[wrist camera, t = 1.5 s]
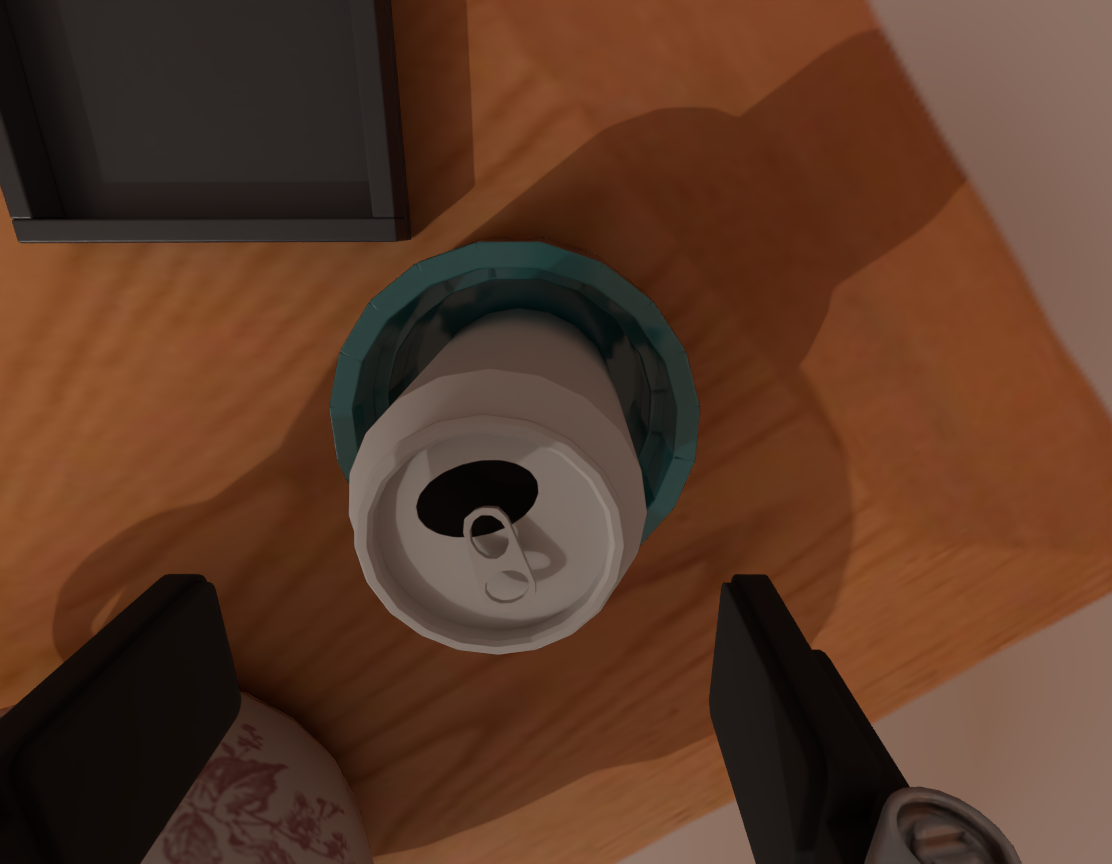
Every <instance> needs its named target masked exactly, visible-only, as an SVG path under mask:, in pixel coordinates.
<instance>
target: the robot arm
mask: <svg viewBox="0 0 1112 864" xmlns="http://www.w3.org/2000/svg"><path fill="white" fill-rule="evenodd" d="M240 707H241V693H240V689H239V685H238V681H237V676H236V672H235V668H234V664H233V660H232V655H231V651H230V647H229V643H228V639H227V635H226V630H225V626H224V622H223V618H222V614H221V610H220V605H219V601H218V597H217V593H216V589H215V587H214V585H213V584H212V583H210V582H207V580H206V578H205V577H204V576H203V575H200V574H168V575H165V576H163V577H161V578H160V579H159V580H158V581H157V582H155V583H154V584H153V585H152V586H151V587H150V588H149V589H147V590H146V591H145V592H144V593H143V594H142V595H141V596H139V597H138V598H137V599H136V600H135V601H134V602H133V603H131V604H130V605H129V606H128V607H127V608H126V609H125V610H123V611H122V612H121V613H120V614H119V615H118V616H117V617H115V618H114V619H113V620H112V621H111V622H110V623H109V624H107V625H106V626H105V627H104V628H103V629H102V630H101V631H100V632H98V633H97V634H96V635H95V636H94V637H93V638H92V639H90V640H89V641H88V642H87V643H86V644H85V645H84V646H82V647H81V648H80V649H79V650H78V651H77V652H76V653H74V654H73V655H72V656H71V657H70V658H69V659H68V660H66V661H65V662H64V663H63V664H62V665H61V666H60V667H58V668H57V669H56V670H55V671H54V672H53V673H52V674H50V675H49V676H48V677H47V678H46V679H45V680H44V681H42V682H41V683H40V684H39V685H38V686H37V687H36V688H34V689H33V690H32V691H31V692H30V693H29V694H28V695H27V696H25V697H24V698H23V699H22V700H21V701H20V702H19V703H17V704H16V705H15V706H14V707H13V708H12V709H11V710H9V711H8V712H7V713H6V714H5V715H4V716H3V717H1V718H0V864H141V862H142V861H143V859H144V858H145V856H146V855H147V853H148V852H149V850H150V849H151V847H152V846H153V844H154V842H155V841H156V839H157V838H158V836H159V835H160V833H161V832H162V830H163V829H164V827H165V826H166V824H167V823H168V821H169V820H170V818H171V817H172V815H173V814H174V812H175V811H176V809H177V808H178V806H179V805H180V803H181V802H182V800H183V799H184V797H185V796H186V794H187V792H188V791H189V789H190V788H191V786H192V785H193V783H194V782H195V780H196V779H197V777H198V776H199V774H200V773H201V771H202V770H203V768H204V767H205V765H206V764H207V762H208V761H209V759H210V758H211V756H212V755H213V753H214V752H215V750H216V749H217V747H218V745H219V744H220V742H221V741H222V739H223V738H224V736H225V735H226V733H227V732H228V730H229V729H230V727H231V726H232V724H233V723H234V721H235V720H236V718H237V716H238V714H239V711H240ZM709 707H710V714H711V719H712V723H713V726H714V729H715V732H716V736H717V739H718V742H719V745H720V749H721V752H722V755H723V758H724V762H725V765H726V768H727V771H728V775H729V778H730V781H731V784H732V788H733V791H734V794H735V797H736V801H737V804H738V807H739V810H740V814H741V817H742V820H743V823H744V827H745V830H746V833H747V836H748V840H749V843H750V846H751V849H752V853H753V856H754V859H755V862H756V864H1022V862H1021V860H1020V858H1019V856H1018V854H1017V852H1016V850H1015V848H1014V846H1013V845H1012V844H1011V842H1010V841H1009V840H1008V839H1007V838H1006V836H1005V835H1004V834H1003V833H1002V831H1001V830H1000V829H999V828H998V827H997V826H996V825H995V824H993V822H991V821H990V820H989V819H988V818H987V817H986V816H984V815H983V814H982V813H981V812H980V811H978V810H977V809H975V808H973V807H972V806H970V805H969V804H967V803H965V802H964V801H962V800H960V799H959V798H956V797H953V796H951V795H949V794H946V793H944V792H942V791H939V790H935V789H929V788H924V787H910V786H909V785H908V783H907V782H906V780H905V778H904V777H903V775H902V774H901V772H900V770H899V769H898V767H897V766H896V764H895V762H894V761H893V759H892V758H891V756H890V754H889V753H888V751H887V750H886V748H885V746H884V745H883V743H882V742H881V740H880V739H879V737H878V735H877V734H876V732H875V730H874V729H873V727H872V726H871V724H870V722H869V721H868V719H867V718H866V716H865V714H864V713H863V711H862V710H861V708H860V706H859V705H858V703H857V702H856V700H855V698H854V697H853V695H852V694H851V692H850V690H849V689H848V687H847V686H846V684H845V682H844V681H843V679H842V678H841V676H840V674H839V673H838V671H837V670H836V668H835V666H834V665H833V663H832V662H831V660H830V659H829V657H828V656H827V655H826V654H825V653H824V652H823V651H821V650H812V649H811V648H810V646H809V644H808V643H807V641H806V639H805V638H804V636H803V634H802V632H801V631H800V629H799V627H798V626H797V624H796V622H795V621H794V619H793V617H792V616H791V614H790V612H789V611H788V609H787V607H786V606H785V604H784V602H783V601H782V599H781V597H780V596H779V594H778V592H777V590H776V589H775V587H774V585H773V584H772V582H771V580H770V579H769V577H768V576H767V575H764V574H735V575H734V576H733V577H732V580H731V583H723V584H722V587H721V595H720V604H719V613H718V622H717V631H716V640H715V649H714V659H713V668H712V677H711V686H710V695H709Z"/></svg>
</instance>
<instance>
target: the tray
mask: <svg viewBox="0 0 1112 864" xmlns="http://www.w3.org/2000/svg"><path fill="white" fill-rule="evenodd" d="M0 186H1V189H2V192H3V195H4V198H5V201H6V205H7V208H8V211H9V214H10V217H11V218H12V219H14V220H12V223H13V226H14V230H15V233H16V236H17V239H18V241H19V242H20V243H182V242H397V241H404V240H411V228H410V216H409V205H408V193H407V182H406V170H405V159H404V147H403V136H402V125H401V113H400V102H399V90H398V79H397V67H396V56H395V45H394V33H393V22H392V10H391V0H0Z"/></svg>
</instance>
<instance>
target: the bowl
mask: <svg viewBox="0 0 1112 864" xmlns="http://www.w3.org/2000/svg"><path fill="white" fill-rule="evenodd" d="M516 308H521V309H527V310H534V311H541V312H548V313H550V314H552V315H554V316H556V317H558V318H560V319H563V320H565V321H567V322H569V323H571V324H573V325H575V326H576V327H577V328H578V329H579V330H580V331H581V332H582V333H583V334H584V335H585V336H586V337H587V338H588V339H589V340H590V341H591V342H593V343H594V344H595V345H596V346H597V348H598V350H599V352H600V354H601V356H602V358H603V360H604V361H605V363H606V365H607V367H608V369H609V371H610V373H611V377H612V380H613V383H614V386H615V389H616V392H617V396H618V399H619V402H620V405H621V408H622V411H623V415H624V418H625V421H626V424H627V427H628V430H629V434H630V437H631V440H632V443H633V446H634V449H635V452H636V456H637V459H638V462H639V465H640V468H641V472H642V480H643V487H644V495H645V502H646V510H647V515H646V519H645V524H644V528H643V533H642V537H641V542H640V545H641V544H642V543H643V542H644V541H645V540H646V539H647V538H648V536H649V535H650V534H651V533H652V532H653V531H654V530H655V529H656V528H657V526H658V525H659V524H660V523H661V522H662V521H663V520H664V519H665V517H666V516H667V515H668V514H669V513H670V512H671V511H672V509H673V508H674V507H675V505H676V503H677V501H678V499H679V496H680V494H681V492H682V489H683V487H684V485H685V483H686V480H687V478H688V476H689V474H690V471H691V469H692V467H693V465H694V462H695V459H696V448H697V437H698V425H699V414H700V406H699V400H698V396H697V392H696V388H695V384H694V380H693V376H692V372H691V368H690V364H689V360H688V356H687V353H686V351H685V348H684V347H683V345H682V344H681V342H680V341H679V339H678V338H677V336H676V335H675V333H674V331H673V330H672V328H671V327H670V325H669V324H668V322H667V321H666V319H665V318H664V316H663V315H662V313H661V312H660V310H659V309H658V307H657V306H656V304H655V303H654V302H653V301H652V300H651V298H649V297H648V296H647V295H646V294H645V293H644V292H643V291H642V290H641V289H639V288H638V287H637V286H636V285H635V284H634V283H633V282H631V281H630V280H629V279H627V278H626V277H625V276H623V275H622V274H621V273H620V272H618V271H617V270H616V269H614V268H613V267H612V266H610V265H609V264H608V263H607V262H605V261H604V260H603V259H601V258H600V257H599V256H597V255H594V254H593V253H592V252H589V251H586V250H583V249H580V248H577V247H574V246H571V245H568V244H565V243H562V242H559V241H556V240H553V239H550V238H545V237H491V238H488V239H484V240H481V241H477V242H473V243H471V244H468V245H465V246H462V247H459V248H456V249H454V250H451V251H448V252H445V253H442V254H439V255H437V256H434V257H431V258H428V259H425V260H422V261H420V262H418V263H416V264H414V265H413V266H412V267H410V268H409V269H408V270H407V271H406V272H404V273H403V274H402V275H401V276H399V277H398V278H397V279H396V280H394V281H393V282H392V283H391V284H390V285H388V286H387V287H386V288H385V289H383V290H382V291H381V292H380V293H379V294H377V295H376V296H375V297H374V298H372V299H371V300H370V302H369V303H368V304H367V306H366V308H365V309H364V311H363V313H362V314H361V316H360V318H359V319H358V321H357V323H356V324H355V326H354V328H353V329H352V331H351V333H350V334H349V336H348V338H347V339H346V341H345V343H344V345H343V346H342V348H341V352H340V353H339V357H338V362H337V367H336V372H335V378H334V383H333V388H332V394H331V399H330V407H329V410H330V417H331V424H332V430H333V437H334V444H335V450H336V457H337V460H338V464H339V466H340V468H341V470H342V472H343V474H344V476H345V478H346V480H347V482H348V484H349V481H350V471H351V469H352V466H353V464H354V461H355V459H356V456H357V454H358V451H359V449H360V446H361V444H362V441H363V439H364V436H365V434H366V433H367V431H368V430H369V429H370V428H371V427H372V426H373V425H374V424H375V423H376V422H377V420H378V419H379V418H380V417H381V416H382V415H383V414H384V413H385V412H386V411H387V409H388V408H389V407H390V406H391V405H392V404H393V403H394V402H395V401H396V400H397V398H398V397H399V396H400V395H401V394H402V393H403V392H404V391H405V390H406V389H407V387H408V386H409V385H410V384H411V383H412V382H413V381H414V380H415V379H416V378H417V376H418V375H419V374H420V373H421V372H422V371H423V370H424V369H425V368H426V367H427V365H428V364H429V363H430V362H431V361H432V360H433V359H434V358H435V357H436V356H437V355H438V353H439V352H440V351H441V350H442V349H443V348H444V347H445V346H446V345H447V344H448V342H449V341H450V340H451V339H452V338H453V337H454V336H455V335H456V334H457V333H458V331H459V330H460V329H461V328H462V327H464V326H466V325H468V324H470V323H471V322H473V321H475V320H477V319H479V318H481V317H482V316H484V315H486V314H488V313H493V312H499V311H505V310H510V309H516Z"/></svg>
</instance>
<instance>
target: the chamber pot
mask: <svg viewBox="0 0 1112 864" xmlns="http://www.w3.org/2000/svg"><path fill="white" fill-rule="evenodd" d="M240 693H241V707H240V711H239V714H238V716H237V718H236V720H235V721H234V723H233V724H232V726H231V727H230V729H229V730H228V732H227V733H226V735H225V736H224V738H223V739H222V741H221V742H220V744H219V745H218V747H217V749H216V750H215V752H214V753H213V755H212V756H211V758H210V759H209V761H208V762H207V764H206V765H205V767H204V768H203V770H202V771H201V773H200V774H199V776H198V777H197V779H196V780H195V782H194V783H193V785H192V786H191V788H190V789H189V791H188V792H187V794H186V796H185V797H184V799H183V800H182V802H181V803H180V805H179V806H178V808H177V809H176V811H175V812H174V814H173V815H172V817H171V818H170V820H169V821H168V823H167V824H166V826H165V827H164V829H163V830H162V832H161V833H160V835H159V836H158V838H157V839H156V841H155V842H154V844H153V846H152V847H151V849H150V850H149V852H148V853H147V855H146V856H145V858H144V859H143V861H142V862H141V864H374V862H373V858H372V854H371V850H370V847H369V843H368V839H367V835H366V832H365V828H364V824H363V820H362V816H361V813H360V809H359V805H358V801H357V798H356V796H355V795H354V793H353V791H352V789H351V788H350V786H349V784H348V782H347V781H346V779H345V777H344V775H343V773H342V772H341V770H340V768H339V766H338V765H337V763H336V761H335V759H334V758H333V757H332V755H331V754H330V752H329V751H328V750H327V749H326V748H325V747H324V746H323V745H322V744H321V743H320V742H319V741H318V740H317V739H316V738H314V737H313V736H312V735H311V734H310V733H309V732H308V731H307V730H306V729H305V728H304V727H303V726H301V725H300V724H299V723H298V722H297V721H296V720H295V719H294V718H293V717H291V716H289V715H287V714H285V713H283V712H281V711H280V710H278V709H276V708H274V707H272V706H270V705H269V704H267V703H265V702H263V701H261V700H259V699H257V698H256V697H254V696H252V695H250V694H248V693H246V692H242V691H240ZM14 706H15V705H12V706H9V707H6V708H2V709H0V718H1V717H3V716H4V715H5V714H6V713H7V712H8V711H9V710H11V709H12V708H13V707H14Z"/></svg>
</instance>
